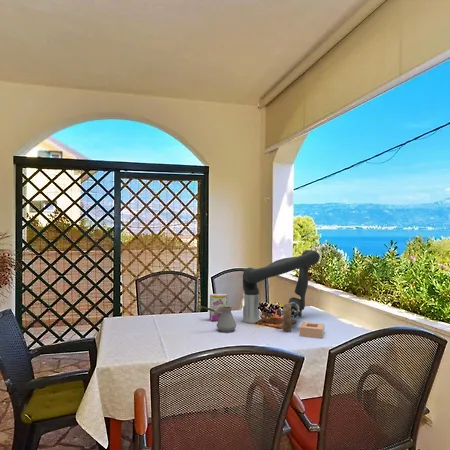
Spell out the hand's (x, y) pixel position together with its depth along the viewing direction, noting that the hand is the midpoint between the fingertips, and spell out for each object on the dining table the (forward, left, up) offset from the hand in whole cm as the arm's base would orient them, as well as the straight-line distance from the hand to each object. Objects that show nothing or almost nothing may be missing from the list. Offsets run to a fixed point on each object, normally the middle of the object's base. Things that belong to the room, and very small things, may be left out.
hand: (287, 315), depth 212 cm
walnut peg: (0, +1, -9) cm, 9 cm away
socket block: (+14, 0, -9) cm, 17 cm away
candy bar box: (-45, +9, -9) cm, 47 cm away
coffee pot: (-37, -12, -9) cm, 40 cm away
